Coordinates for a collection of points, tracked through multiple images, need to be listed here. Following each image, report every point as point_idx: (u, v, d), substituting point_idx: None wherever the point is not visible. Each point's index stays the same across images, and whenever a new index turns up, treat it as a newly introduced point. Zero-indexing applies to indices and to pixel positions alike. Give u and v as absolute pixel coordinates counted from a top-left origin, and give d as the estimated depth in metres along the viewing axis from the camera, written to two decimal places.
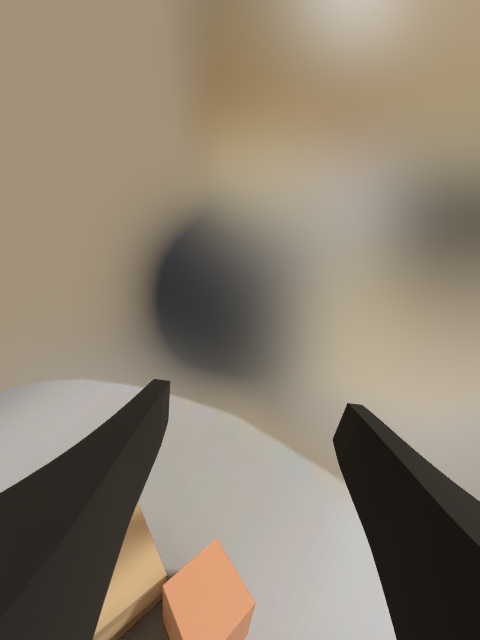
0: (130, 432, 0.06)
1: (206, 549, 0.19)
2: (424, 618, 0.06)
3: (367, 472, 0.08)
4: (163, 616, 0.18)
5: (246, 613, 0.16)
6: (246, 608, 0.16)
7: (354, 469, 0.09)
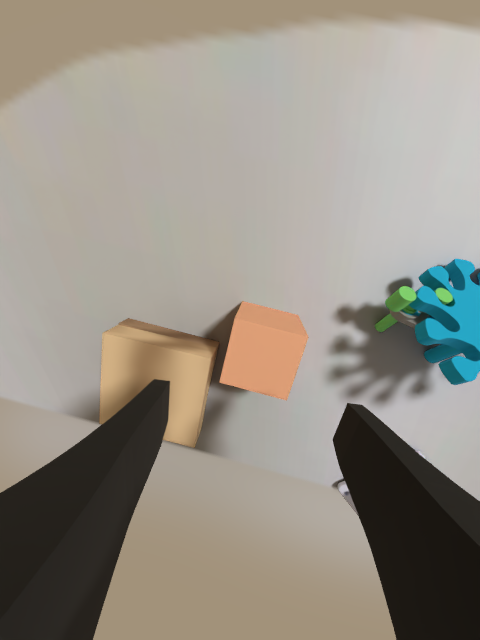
0: (130, 432, 0.06)
1: (232, 334, 0.15)
2: (424, 618, 0.06)
3: (367, 472, 0.08)
4: None
5: (303, 348, 0.15)
6: (302, 345, 0.15)
7: (354, 469, 0.09)
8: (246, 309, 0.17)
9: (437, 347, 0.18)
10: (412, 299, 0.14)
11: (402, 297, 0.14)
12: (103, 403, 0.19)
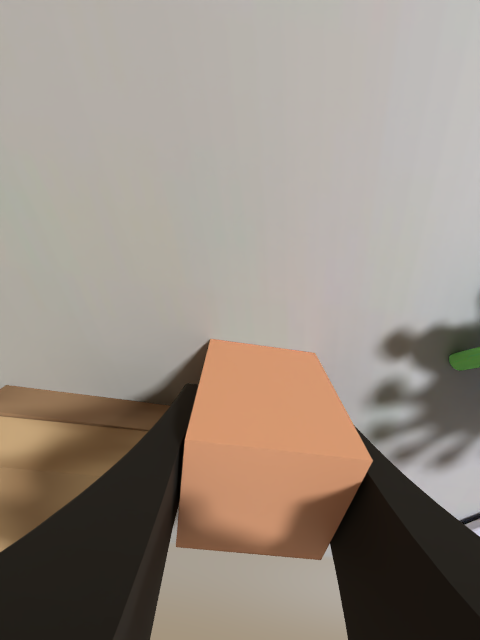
0: (179, 438, 0.06)
1: (186, 470, 0.06)
2: (370, 614, 0.05)
3: None
4: None
5: (359, 478, 0.06)
6: (356, 476, 0.06)
7: None
8: (217, 373, 0.08)
9: None
10: None
11: None
12: None
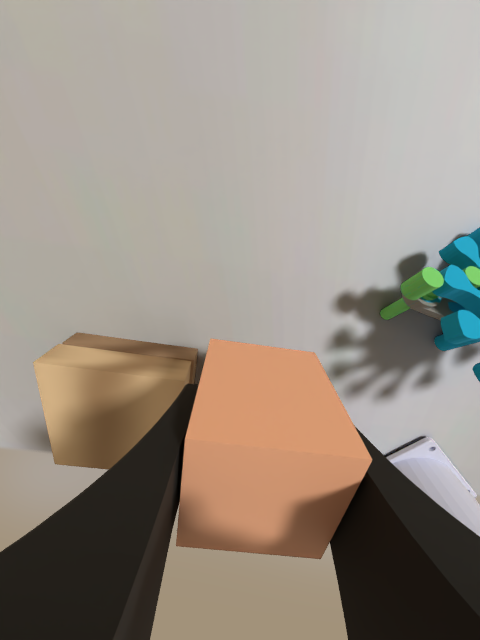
0: (179, 438, 0.06)
1: (186, 469, 0.06)
2: (370, 614, 0.05)
3: None
4: None
5: (359, 478, 0.06)
6: (355, 475, 0.06)
7: None
8: (217, 372, 0.08)
9: None
10: (439, 285, 0.11)
11: (427, 282, 0.11)
12: (54, 442, 0.15)
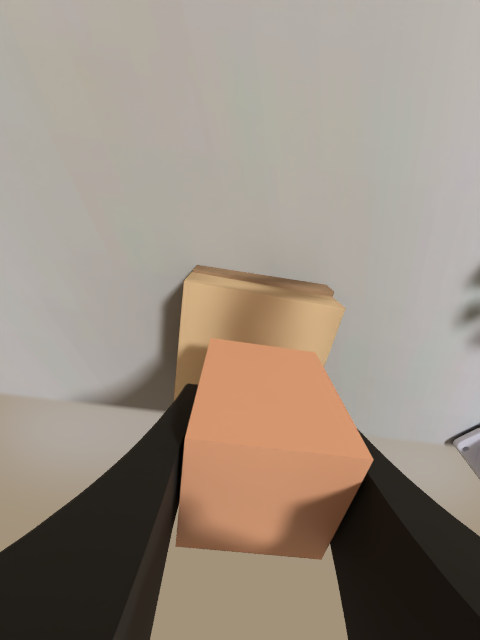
0: (179, 438, 0.06)
1: (186, 469, 0.06)
2: (370, 614, 0.05)
3: None
4: None
5: (360, 478, 0.06)
6: (356, 475, 0.06)
7: None
8: (217, 371, 0.08)
9: None
10: None
11: None
12: (180, 383, 0.14)
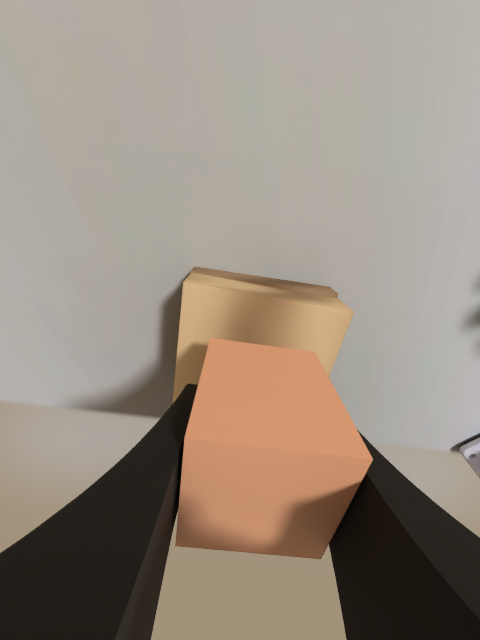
0: (180, 438, 0.06)
1: (186, 469, 0.06)
2: (368, 614, 0.05)
3: None
4: None
5: (359, 477, 0.06)
6: (356, 475, 0.06)
7: None
8: (217, 371, 0.08)
9: None
10: None
11: None
12: (178, 389, 0.13)
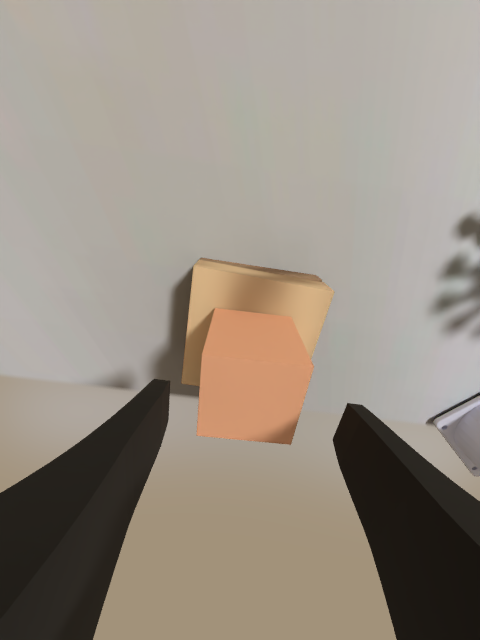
0: (130, 432, 0.06)
1: (203, 376, 0.10)
2: (424, 618, 0.06)
3: (367, 472, 0.08)
4: None
5: (308, 380, 0.10)
6: (305, 378, 0.10)
7: (354, 469, 0.09)
8: (220, 326, 0.12)
9: None
10: None
11: None
12: (188, 358, 0.16)
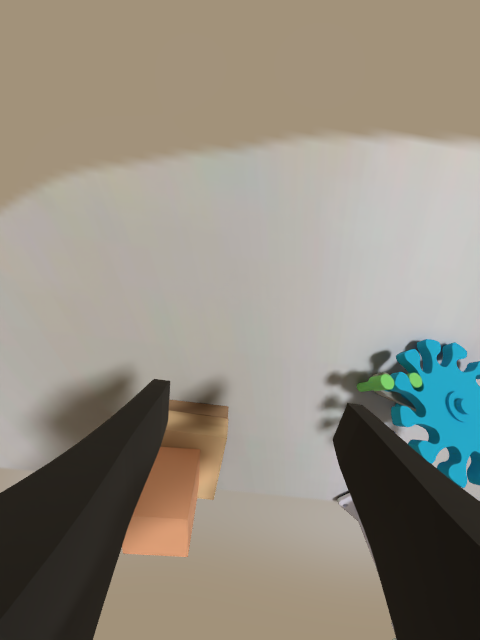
0: (130, 432, 0.06)
1: None
2: (424, 618, 0.06)
3: (367, 472, 0.08)
4: None
5: (187, 525, 0.16)
6: (184, 524, 0.16)
7: (354, 469, 0.09)
8: None
9: None
10: (391, 387, 0.17)
11: (383, 386, 0.17)
12: None
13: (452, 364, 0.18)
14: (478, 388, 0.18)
